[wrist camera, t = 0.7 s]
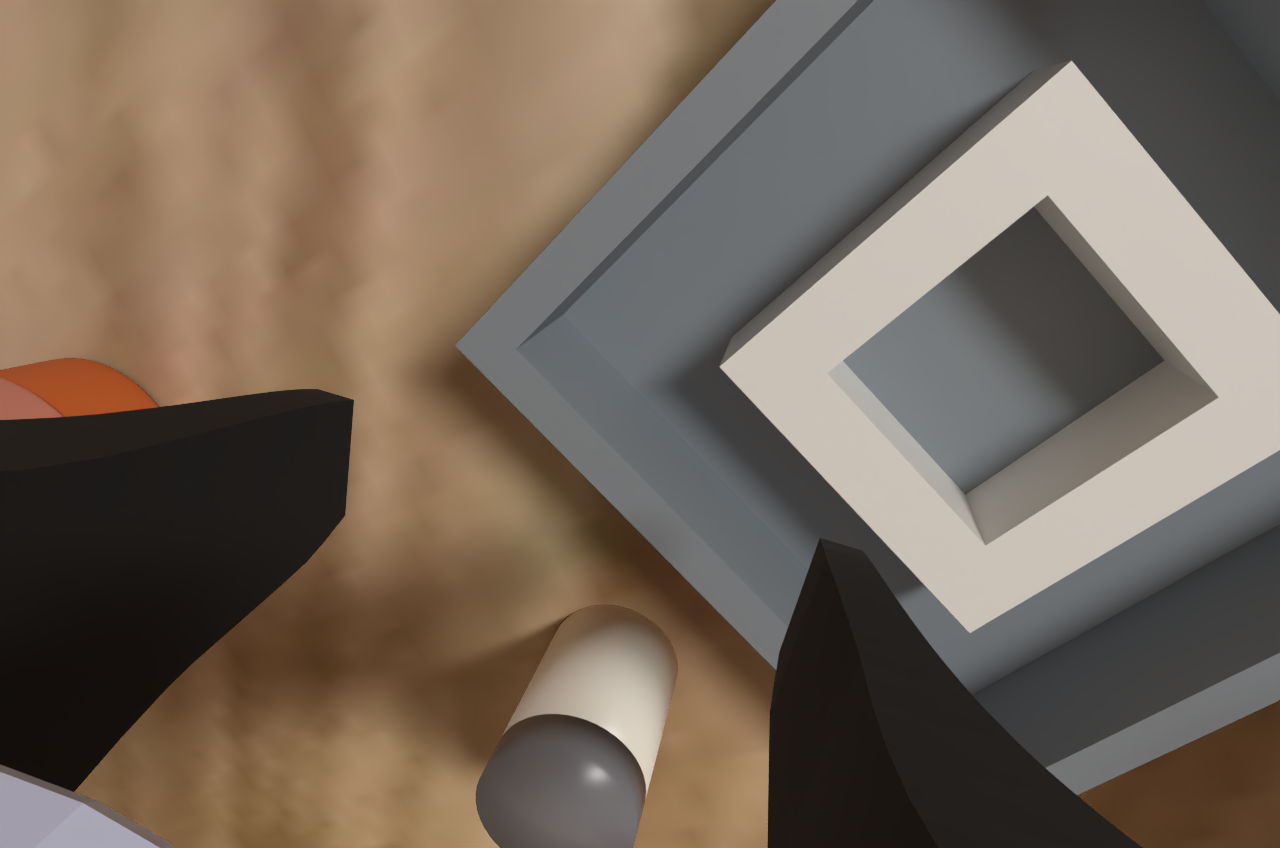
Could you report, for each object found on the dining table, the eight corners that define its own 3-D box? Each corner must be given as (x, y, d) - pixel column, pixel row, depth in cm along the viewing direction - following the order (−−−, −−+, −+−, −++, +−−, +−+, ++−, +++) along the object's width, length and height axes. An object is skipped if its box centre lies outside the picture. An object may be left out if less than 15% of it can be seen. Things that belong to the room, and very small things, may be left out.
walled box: (1568, 391, 17) (1778, 466, 13) (933, 735, 23) (955, 852, 19) (1061, -264, 15) (1140, -393, 11) (518, 307, 21) (455, 345, 17)
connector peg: (705, 673, 24) (670, 837, 18) (614, 733, 25) (558, 901, 20) (613, 581, 23) (549, 721, 18) (527, 648, 25) (444, 796, 19)
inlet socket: (1280, 366, 17) (1354, 405, 15) (952, 573, 20) (969, 633, 18) (1034, 70, 16) (1071, 60, 14) (731, 337, 19) (719, 367, 17)
